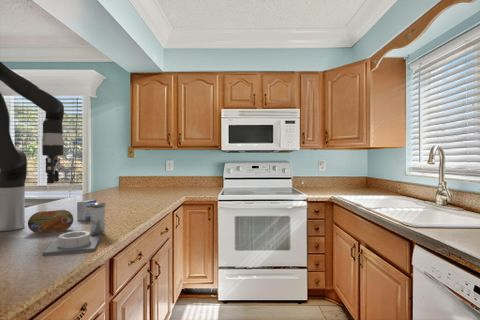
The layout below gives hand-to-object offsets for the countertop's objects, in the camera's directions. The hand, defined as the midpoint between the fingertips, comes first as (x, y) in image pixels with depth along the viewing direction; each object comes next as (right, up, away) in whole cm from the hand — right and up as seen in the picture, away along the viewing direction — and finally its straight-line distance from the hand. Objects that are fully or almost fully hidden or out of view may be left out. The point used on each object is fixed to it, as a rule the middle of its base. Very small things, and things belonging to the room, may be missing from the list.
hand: (53, 182), depth 119 cm
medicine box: (+6, -19, +16) cm, 25 cm away
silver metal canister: (+24, -19, -11) cm, 33 cm away
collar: (+24, -19, -25) cm, 40 cm away
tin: (+4, -19, -7) cm, 21 cm away
